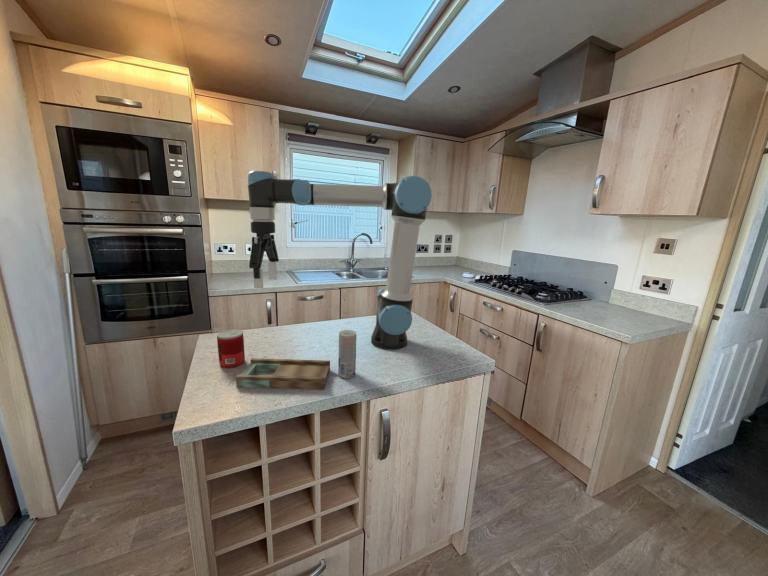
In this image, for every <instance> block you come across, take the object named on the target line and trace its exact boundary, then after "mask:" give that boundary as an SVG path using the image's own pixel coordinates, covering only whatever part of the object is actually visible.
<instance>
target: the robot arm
mask: <svg viewBox="0 0 768 576" xmlns="http://www.w3.org/2000/svg"><path fill="white" fill-rule="evenodd" d="M247 176H248V177H247V192H248V203H249V211H248V213H249V214H250V215H249V217H250V220H252V221H250V231H251V233H252V234H256V236H252V237H251V247H250V248H251V250H250V258H249V264H248V266H249V269H252V277H253V288H254V289H264V278H263V277H264V275H263V274H264V273H263V268H262V263H263V258H264V255H265V253H266V256H267V259H268V261H267V267H268V269H267V270H268V280H270V281H271V280H273V281H275V280H276V281H277V280H278V275H277V274H278V272H277V270H278V269H277V268H278V267H277V262H279V255H278V254H279V253H278V250H277V246H276V245H277V244H276V241H275V235H274V234H275V233H276V224H275V219H276V218H275V217H276V216H275V215H276V213H275V204H293V205H297V206H337V207H338V206H340V207H364V208H365V207H369V208H370V207H372V208H375V207H376V208H382V209H383V210H384V211H391V215H390V216H391V218H392V220H393V221H394V225H393V233H392V240H391V248H390V249H391V250H390V254H389V255H390V256H389V257H390V258H389V265H388V271H387V279H386V285H385V287H384V288H380V289H378V290H377V294H376V315H375V318H376V319H375V321H376V322H375V327H374V328H373V332H372V334H371V336H370V337H371V339H370V343H371V345H373V346H374V347H376V348H378V349H382V350H387V351H388V350H389V351H391V350H392V351H393V350H401V349H403V348H405V347H406V346H407V345H408V335H407V331H408V330H409V329H410V328H411V326H412V324H413V323H412V322H413V315H412V308H413V300H414V297H413V295H412V294H411V286H412V279H413V274H414V273H413V272H414V268H415V267H414V266H415V261H416V260H415V259H416V253H417V246H418V239H419V235H420V234H419V233H420V226H421V225H422V224H423V223H425V222H426V217H427V211H428V208H429V205H430V204H431V202H432V196H433V195H432V189H431V186H430V183H428V182H427V180H426V179H425V178H422V177H421V176H418V175H408V176H407V175H406V176H405V177H403V178H402V179H400V180H399V181H398V182H393V183H392V182H391V183H389V182H386V183H384V184H383V185H368V184H367V185H365V184H364V185H362V184H361V185H358V184H331V183H330V184H328V183H327V184H326V183H325V184H324V183H310V181H308V180H307V179H305V180H304V179H286V178H285V179H284V178H283V179H281V178H280V179H279V178H274V177H273V173H271V172H270V171H263V170H262V171H261V170H251V171H249V172H248V173H247Z"/></svg>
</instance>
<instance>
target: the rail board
mask: <svg viewBox="0 0 768 576" xmlns="http://www.w3.org/2000/svg"><path fill="white" fill-rule="evenodd" d="M257 372H263V373H265V372H267V373H268V372H269V373H272V372H273V374H272V375H270V374H269V375H266V374H264V375H263V374H260V375H259V374H256V373H257ZM330 372H331V360H323V359H322V360H321V359H318V360H317V359H291V358H290V359H289V358H284V359H283V358H259V357H258V358H257V357H255V358H253V357H252V358H251V359H250V363H249V364H248V365H247V366H246V368H244V370H243V371H242V372H241V373H240V374H237V375H236V376H235V382H236V385H235V386H236V388H245V389H246V388H248V389H249V388H250V389H251V388H253V389H285V390H287V389H288V390H291V389H293V390H317V391H318V390H322V391H323V390H325V387H326V385H327V382H328V379H329V374H330Z"/></svg>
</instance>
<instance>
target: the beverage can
mask: <svg viewBox="0 0 768 576" xmlns="http://www.w3.org/2000/svg"><path fill="white" fill-rule="evenodd" d="M356 359H357V332H356V331H354V330H351V329H344V330H341V331H339V332H338V367H337V368H338V369H337V370H338V372H337V373H338V376H339V377H340V378H342V379H352V378H354V377H355V376H356V369H357V368H356V364H357V361H356Z"/></svg>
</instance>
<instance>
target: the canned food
mask: <svg viewBox="0 0 768 576" xmlns="http://www.w3.org/2000/svg"><path fill="white" fill-rule="evenodd" d="M216 338H217V339H216V340H217V341H216V342H217V343H216V344H217V352H218V353H217V354H218V363H219V365H220V367H221V368H225V369H232V368H233V369H234V368H236V367H239V366H241V365H242V364H244V362H245V360H246V358H245V357H246V356H245V339H244V338H245V337H244V332H243V330H242V329H238V328H237V329H236V328H233V329H232V328H231V329H226V330H223V331H220V332H218V333H217V335H216Z"/></svg>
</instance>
